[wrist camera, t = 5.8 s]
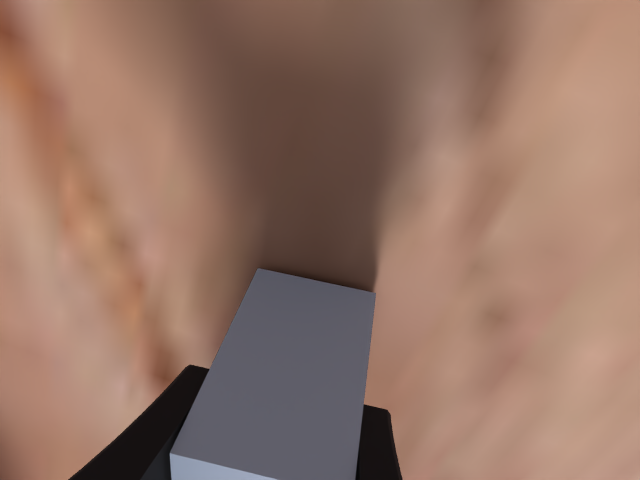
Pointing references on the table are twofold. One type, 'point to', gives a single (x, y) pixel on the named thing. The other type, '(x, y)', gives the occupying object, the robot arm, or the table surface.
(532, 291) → the table surface
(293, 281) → the tall pale blue pillar
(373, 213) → the table surface
